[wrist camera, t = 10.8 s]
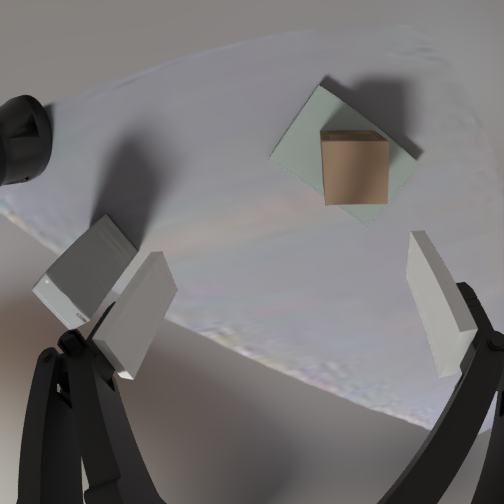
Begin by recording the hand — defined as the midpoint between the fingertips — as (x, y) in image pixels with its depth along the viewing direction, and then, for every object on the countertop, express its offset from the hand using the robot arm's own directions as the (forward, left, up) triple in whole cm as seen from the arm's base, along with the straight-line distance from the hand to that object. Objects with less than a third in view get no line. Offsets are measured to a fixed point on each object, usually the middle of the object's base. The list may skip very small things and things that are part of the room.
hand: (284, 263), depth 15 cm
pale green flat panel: (+4, +3, -21) cm, 22 cm away
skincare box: (-17, -26, -21) cm, 37 cm away
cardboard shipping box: (+4, +4, -19) cm, 20 cm away
